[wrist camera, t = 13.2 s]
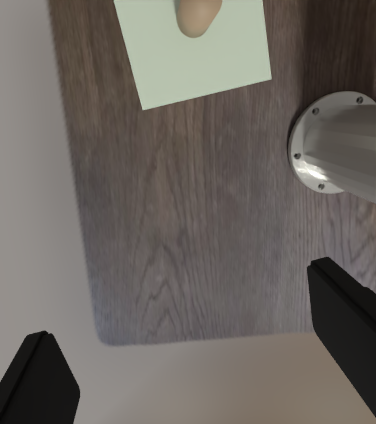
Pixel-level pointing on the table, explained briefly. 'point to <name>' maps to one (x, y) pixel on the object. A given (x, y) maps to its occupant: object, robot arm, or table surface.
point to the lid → (193, 47)
